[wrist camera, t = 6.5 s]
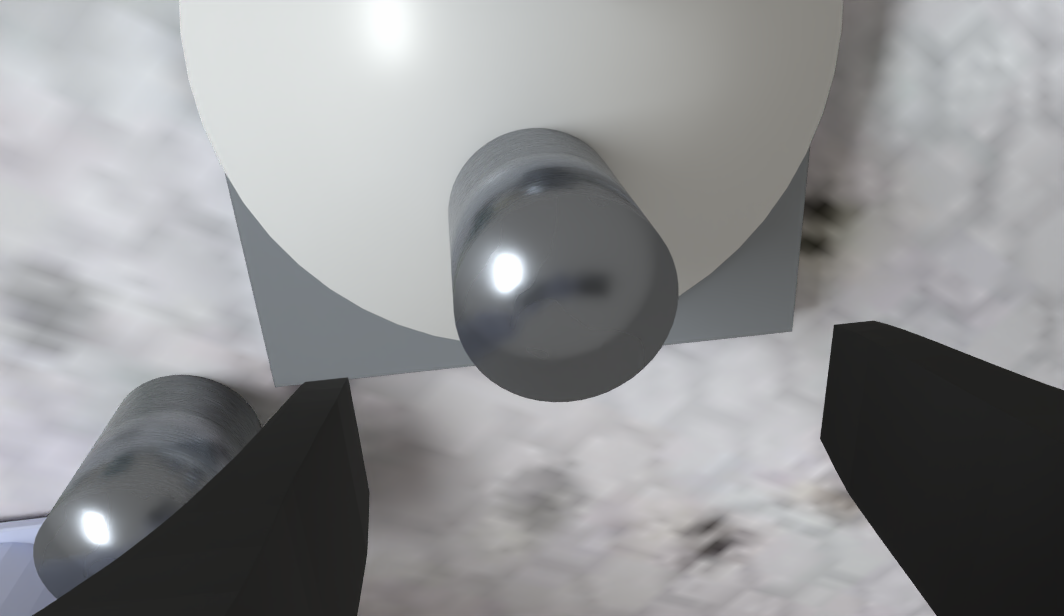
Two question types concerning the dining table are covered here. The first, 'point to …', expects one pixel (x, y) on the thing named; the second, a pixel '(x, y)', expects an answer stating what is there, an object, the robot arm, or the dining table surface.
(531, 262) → the cylinder
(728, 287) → the scale
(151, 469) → the cylinder
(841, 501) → the dining table surface
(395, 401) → the dining table surface
